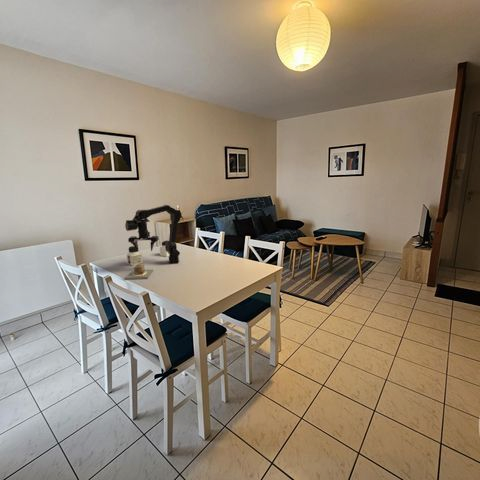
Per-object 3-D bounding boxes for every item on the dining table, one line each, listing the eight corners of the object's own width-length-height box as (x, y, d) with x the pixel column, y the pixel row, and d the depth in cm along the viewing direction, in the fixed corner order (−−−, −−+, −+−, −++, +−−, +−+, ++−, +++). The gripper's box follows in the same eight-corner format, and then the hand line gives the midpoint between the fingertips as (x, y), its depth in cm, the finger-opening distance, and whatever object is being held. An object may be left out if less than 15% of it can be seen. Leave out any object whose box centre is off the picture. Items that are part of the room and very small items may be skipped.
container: (133, 265, 188) (131, 248, 185) (127, 263, 192) (125, 247, 189) (142, 263, 194) (140, 246, 191) (136, 261, 198) (135, 244, 195)
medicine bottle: (172, 254, 215) (171, 240, 212) (166, 256, 209) (165, 242, 206) (165, 253, 218) (164, 239, 215) (160, 255, 212) (158, 241, 209)
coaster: (153, 271, 177) (153, 269, 176) (147, 278, 163) (147, 276, 163) (132, 271, 176) (132, 270, 175) (125, 279, 162) (124, 277, 162)
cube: (144, 271, 172) (144, 264, 171) (142, 274, 167) (141, 267, 166) (137, 272, 171) (136, 264, 170) (134, 274, 166) (133, 267, 165)
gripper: (159, 226, 183) (161, 247, 186) (132, 226, 182) (134, 248, 185) (155, 229, 172) (157, 252, 176) (126, 230, 171) (129, 252, 174)
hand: (144, 251), depth 178 cm, fingers open, 9 cm apart
